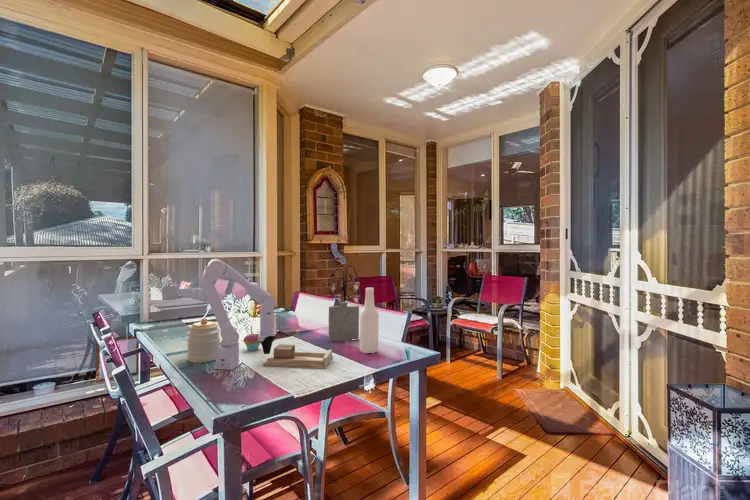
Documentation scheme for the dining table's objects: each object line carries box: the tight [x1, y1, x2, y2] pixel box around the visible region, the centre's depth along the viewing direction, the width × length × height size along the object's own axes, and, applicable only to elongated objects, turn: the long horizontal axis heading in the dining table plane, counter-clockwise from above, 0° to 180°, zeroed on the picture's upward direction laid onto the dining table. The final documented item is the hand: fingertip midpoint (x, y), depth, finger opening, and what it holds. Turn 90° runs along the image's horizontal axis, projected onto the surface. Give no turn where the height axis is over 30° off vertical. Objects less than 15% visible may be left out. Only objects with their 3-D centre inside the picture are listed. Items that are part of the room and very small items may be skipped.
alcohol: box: [359, 286, 380, 355], centre depth 174 cm, size 9×9×30 cm
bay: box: [262, 349, 333, 369], centre depth 157 cm, size 14×26×4 cm, turn 85°
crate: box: [273, 343, 296, 359], centre depth 158 cm, size 7×7×5 cm
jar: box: [186, 317, 221, 364], centre depth 160 cm, size 13×13×18 cm
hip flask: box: [328, 301, 360, 342], centre depth 193 cm, size 16×4×20 cm, turn 103°
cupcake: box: [243, 325, 261, 352], centre depth 174 cm, size 9×8×12 cm
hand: (266, 353), depth 158 cm, fingers closed
